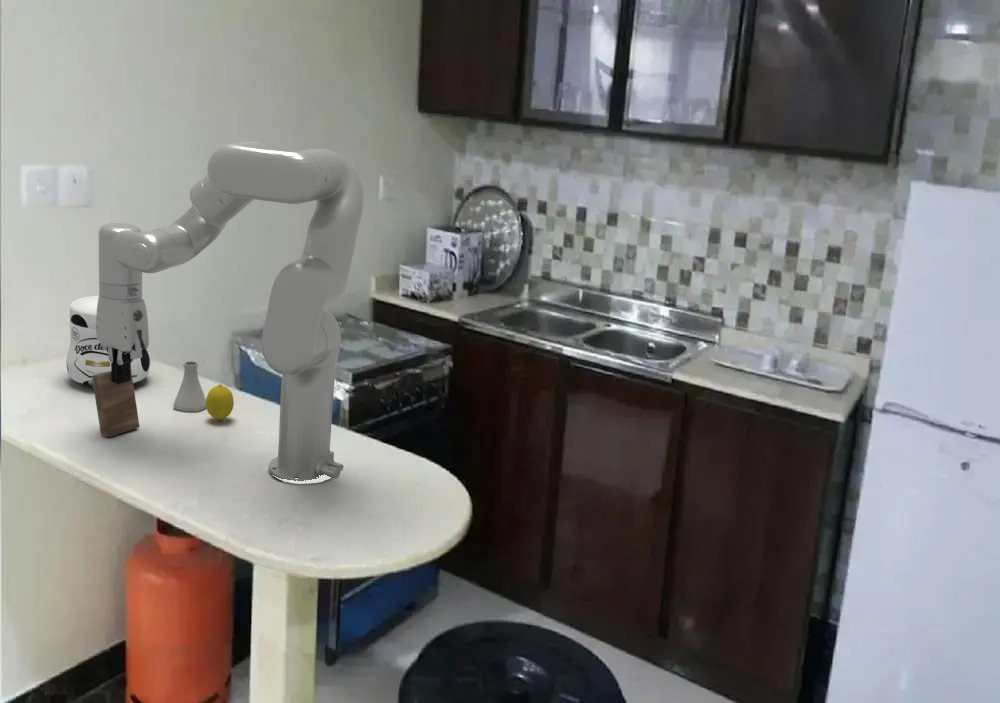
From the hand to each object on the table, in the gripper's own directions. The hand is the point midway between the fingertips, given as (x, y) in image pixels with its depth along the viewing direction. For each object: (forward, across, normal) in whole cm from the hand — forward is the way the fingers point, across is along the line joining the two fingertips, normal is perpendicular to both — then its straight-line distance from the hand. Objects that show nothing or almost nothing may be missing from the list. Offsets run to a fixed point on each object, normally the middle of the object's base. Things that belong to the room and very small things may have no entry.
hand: (121, 381), depth 180 cm
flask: (+11, +2, -19) cm, 22 cm away
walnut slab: (+11, 0, 0) cm, 11 cm away
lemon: (+11, -8, -18) cm, 23 cm away
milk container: (+11, +26, -17) cm, 33 cm away
